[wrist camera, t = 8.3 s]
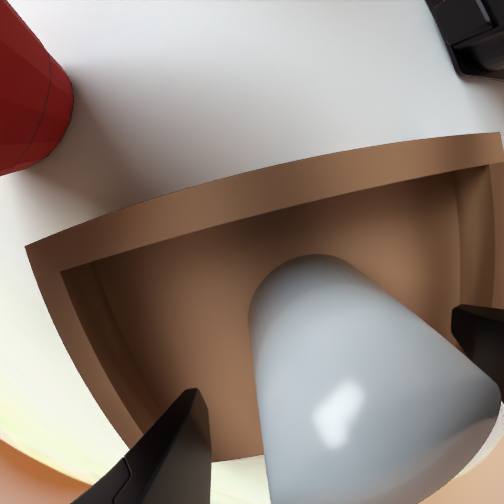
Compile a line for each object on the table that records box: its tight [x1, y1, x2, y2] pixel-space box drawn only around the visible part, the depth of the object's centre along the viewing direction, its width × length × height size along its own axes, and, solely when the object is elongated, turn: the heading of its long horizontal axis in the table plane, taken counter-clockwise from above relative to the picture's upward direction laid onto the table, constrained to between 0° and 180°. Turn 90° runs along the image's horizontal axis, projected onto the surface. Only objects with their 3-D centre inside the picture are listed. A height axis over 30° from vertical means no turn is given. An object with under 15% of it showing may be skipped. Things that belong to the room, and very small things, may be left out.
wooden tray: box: [25, 132, 504, 463], centre depth 12 cm, size 18×14×6 cm
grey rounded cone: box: [248, 254, 501, 504], centre depth 8 cm, size 5×5×8 cm
